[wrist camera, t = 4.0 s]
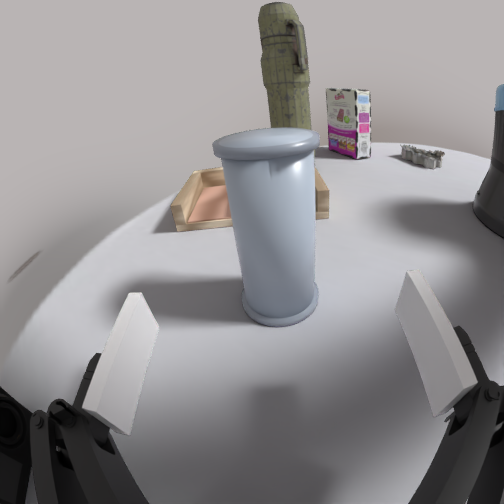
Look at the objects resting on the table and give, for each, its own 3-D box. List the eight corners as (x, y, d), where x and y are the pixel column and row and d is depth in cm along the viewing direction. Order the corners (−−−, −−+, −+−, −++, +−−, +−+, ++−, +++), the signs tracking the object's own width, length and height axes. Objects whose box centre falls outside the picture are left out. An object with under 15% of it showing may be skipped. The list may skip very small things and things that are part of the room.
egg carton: (444, 168, 50) (446, 152, 48) (429, 171, 48) (431, 154, 46) (413, 155, 58) (414, 140, 56) (396, 157, 57) (397, 142, 54)
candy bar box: (371, 157, 56) (371, 90, 47) (356, 160, 55) (355, 89, 46) (342, 147, 65) (340, 87, 56) (327, 149, 64) (324, 87, 54)
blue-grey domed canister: (312, 270, 27) (309, 125, 19) (323, 323, 21) (330, 144, 13) (244, 276, 27) (220, 133, 19) (240, 329, 22) (203, 156, 14)
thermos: (289, 158, 60) (273, 14, 40) (329, 168, 51) (314, 2, 31) (259, 167, 56) (238, 11, 36) (299, 179, 47) (278, -6, 28)
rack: (311, 180, 46) (310, 159, 44) (328, 218, 35) (329, 190, 32) (198, 191, 48) (194, 171, 46) (177, 231, 36) (170, 206, 34)
